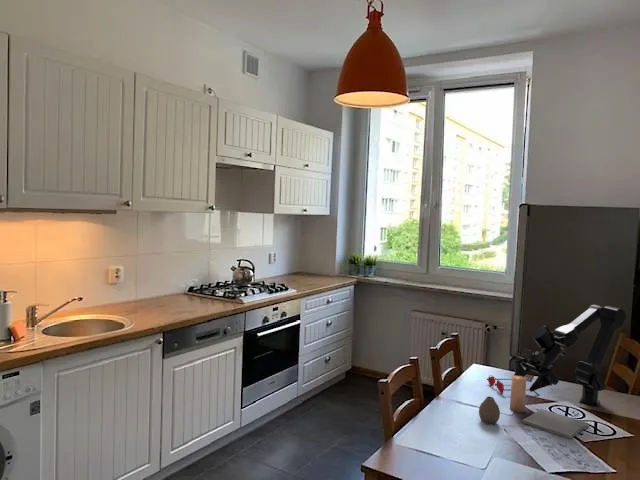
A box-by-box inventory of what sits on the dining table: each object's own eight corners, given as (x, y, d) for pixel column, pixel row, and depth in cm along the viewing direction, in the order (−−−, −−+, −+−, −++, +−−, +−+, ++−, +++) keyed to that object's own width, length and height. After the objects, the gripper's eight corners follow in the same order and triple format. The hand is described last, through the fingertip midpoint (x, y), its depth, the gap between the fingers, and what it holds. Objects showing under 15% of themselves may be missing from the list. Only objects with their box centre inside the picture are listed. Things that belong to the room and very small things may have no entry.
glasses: (485, 384, 218) (486, 373, 218) (522, 384, 220) (523, 373, 219) (501, 396, 204) (501, 384, 204) (540, 396, 206) (540, 384, 206)
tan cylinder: (511, 405, 193) (513, 374, 193) (525, 409, 190) (527, 377, 190) (508, 409, 189) (510, 378, 188) (522, 413, 186) (524, 381, 186)
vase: (500, 427, 173) (502, 402, 172) (479, 425, 174) (480, 400, 174) (497, 419, 180) (499, 395, 179) (477, 417, 181) (478, 393, 180)
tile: (541, 411, 189) (541, 408, 189) (588, 425, 177) (588, 423, 177) (522, 422, 178) (522, 419, 178) (570, 438, 166) (570, 435, 166)
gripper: (519, 335, 199) (493, 364, 196) (554, 348, 182) (527, 380, 179) (534, 354, 202) (509, 383, 199) (570, 369, 184) (543, 401, 182)
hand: (521, 386), depth 190 cm, fingers open, 9 cm apart
